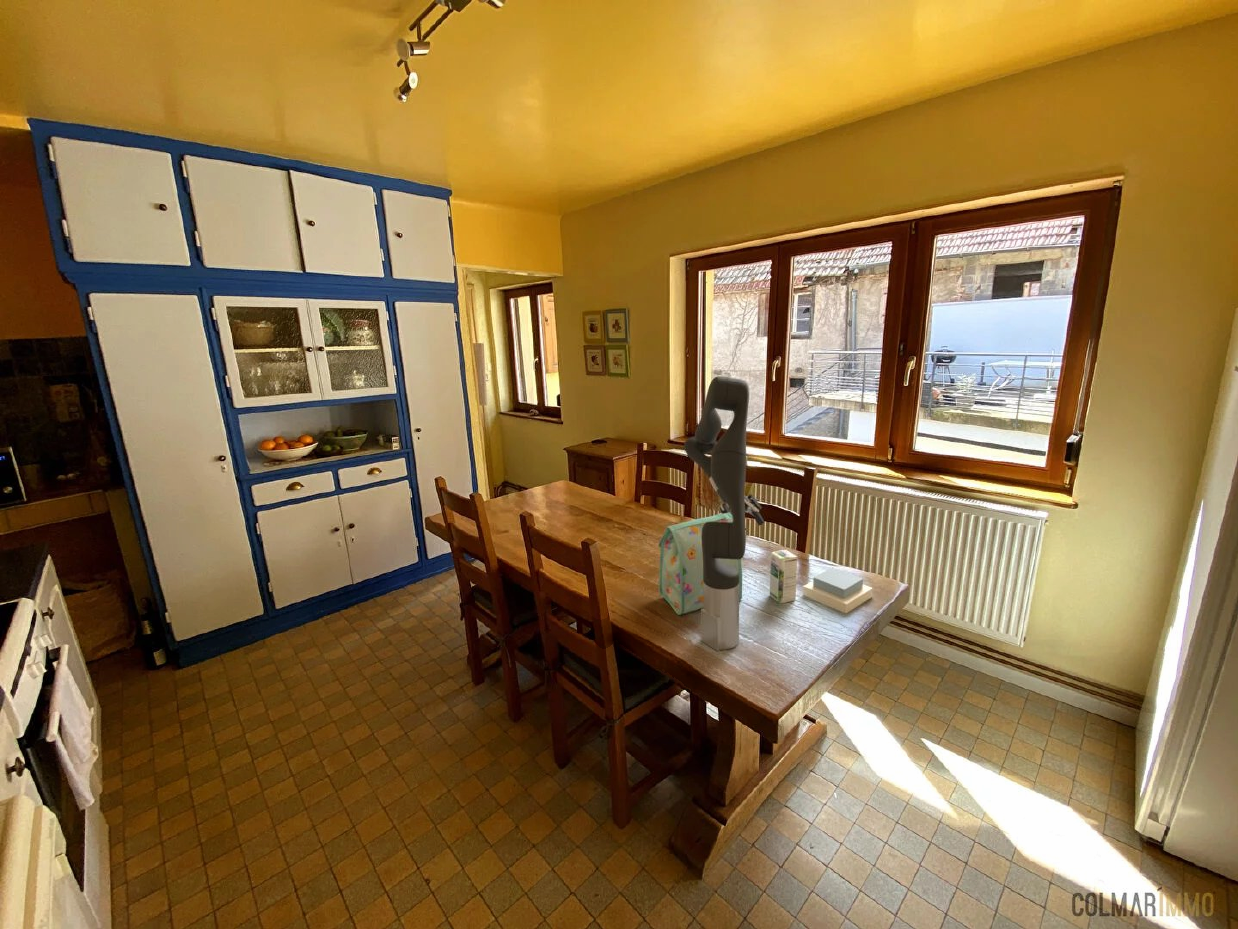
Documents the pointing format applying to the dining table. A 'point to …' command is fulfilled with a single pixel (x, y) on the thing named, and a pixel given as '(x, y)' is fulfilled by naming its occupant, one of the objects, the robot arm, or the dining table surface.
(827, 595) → the tower base
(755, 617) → the dining table surface
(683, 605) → the lunch bag
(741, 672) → the dining table surface
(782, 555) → the syrup box
